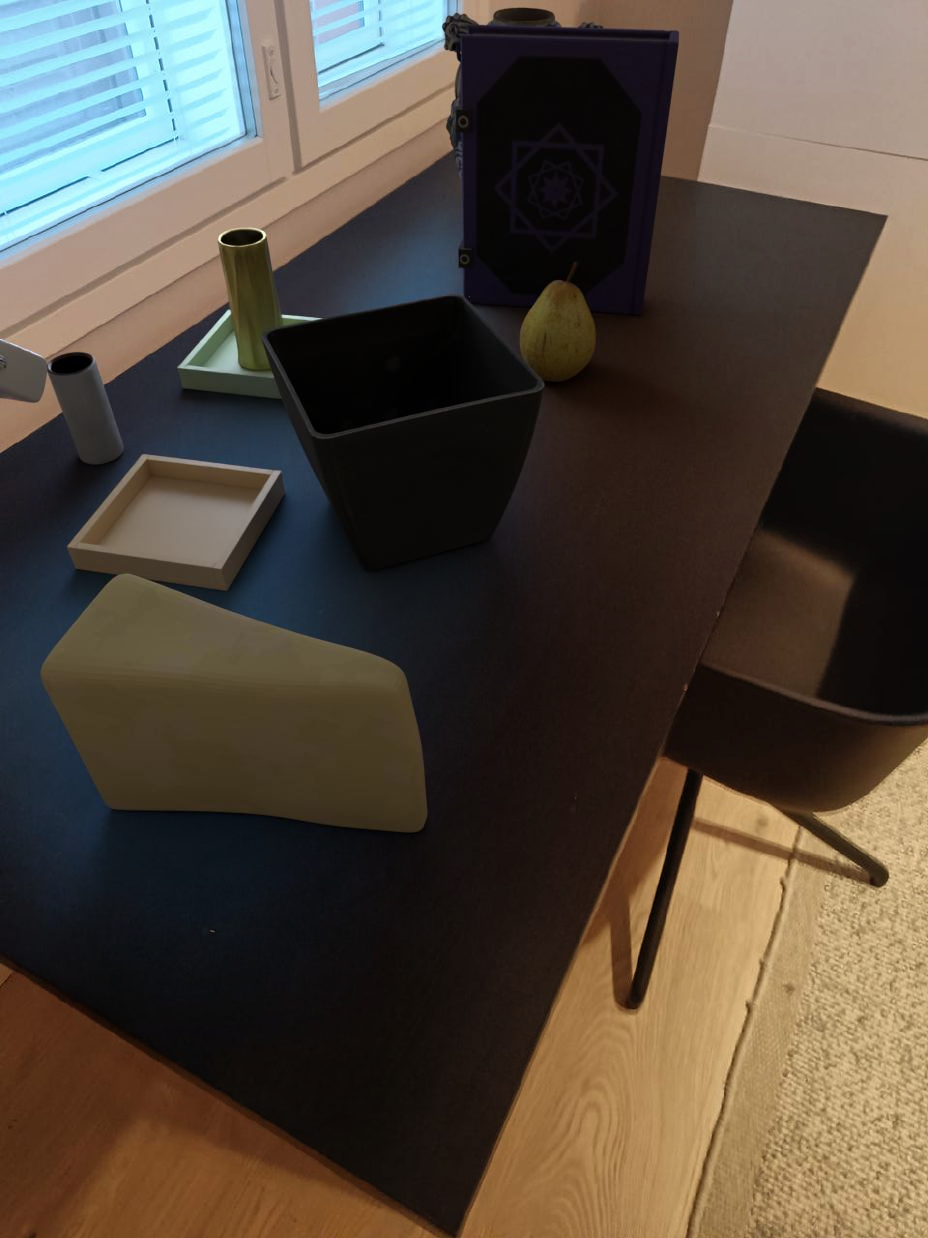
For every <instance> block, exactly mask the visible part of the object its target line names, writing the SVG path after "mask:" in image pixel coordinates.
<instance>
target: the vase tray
mask: <svg viewBox="0 0 928 1238" xmlns="http://www.w3.org/2000/svg"><path fill="white" fill-rule="evenodd" d="M281 315H282V319H283V324H284V326H287V325H292V324H297V323H302V322H307V321H313V320H318V319H323V318H320V317H311V316H299V315H290V314H289V315H288V314H281ZM176 368H177V373H178V377H179V380H180V383H181V387H182V389H186V390H187V389H188V390H195V391H207V392H215V393H223V394H231V395H241V396H251V397H259V398H268V399H277V400H282V398H281V395H280V392H279V390H278V387H277V384H276V381H275V379H274V376H273V373H272V370H271V369H270V370H251V369H247V368H245V367H243V366H241V365H240V364H239V362H238V350H237V343H236V337H235V331H234V327H233V322H232V317H231V311H230V309H227V310H226V311H225V313H223V315H222V316H221V317H220V318H219V320H217V322H216V323H215V324H214V325H213V326H212V328H211V329H210V330H209V331H208V332H207V333H206V334H205V336H204V337H203V338H202V339H201V340H200V341H199V343H197V344H196V346H195V347H194V348H193V349H192V350H191V352H190V353H189V354H188V355H187V356H186V357H185V358H184V360H182V362H181V363H180V364H179V365H178V366H177V367H176Z"/></svg>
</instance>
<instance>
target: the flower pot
mask: <svg viewBox="0 0 928 1238" xmlns="http://www.w3.org/2000/svg"><path fill="white" fill-rule="evenodd" d="M261 339H262V342H263V346H264V349H265V352H266V355H267V358H268V361H269V364H270V367H271V370H272V373H273V376H274V379H275V381H276V384H277V387H278V390H279V392H280V395H281V398H282V399H281V400H282V403H283V405H284V408H285V411H286V413H287V415H288V418H289V420H290V423H291V425H292V427H293V430H294V432H295V435H296V436H297V440H298V441H299V443H300V446H301V448H302V450H303V452H304V455H305V456H306V459H307V461H308V463H309V465H310V468H311V470H312V471H313V473H314V475H315V477H316V479H317V482H318V483H319V485H320V486H321V489H322V491H323V492H324V494H325V497H326V499H327V501H328V503H329V505H330V507H331V509H332V510H333V513H334V515H335V517H336V520H337V522H338V524H339V526H340V528H341V531H342V533H343V535H344V537H345V539H346V542H347V543H348V546H349V548H350V550H351V551H352V554H353V555H354V557H355V559H356V561H357V563H358V564H359V566H360V567H361V568H363V569H364V570H368V571H372V570H373V571H375V570H378V569H381V568H385V567H386V568H387V567H390V566H393V565H398V564H402V563H404V562H405V563H406V562H409V561H412V560H417V559H420V558H424V557H428V556H432V555H435V554H439V553H444V552H447V551H450V550H454V549H458V548H461V547H465V546H469V545H473V544H477V543H480V542H485V541H487V540H489V539H491V538H492V536H493V535H494V533H495V531H496V529H497V528H498V526H499V525H500V522H501V520H502V519H503V516H504V514H505V512H506V509H507V507H508V505H509V503H510V501H511V499H512V496H513V494H514V492H515V489H516V487H517V484H518V482H519V479H520V476H521V475H522V471H523V468H524V466H525V462H526V459H527V456H528V454H529V449H530V446H531V443H532V440H533V436H534V432H535V430H536V425H537V421H538V417H539V412H540V409H541V404H542V400H543V394H544V389H545V382H544V380H542V379H541V378H540V377H539V376H538V375H537V374H536V373H535V372H534V371H533V370H532V369H531V367H530V366H529V365H528V364H527V363H526V362H525V361H524V360H523V358H522V356H521V355H519V354H518V353H517V351H516V350H515V349H514V348H513V347H512V346H511V345H510V344H509V343H508V342H507V341H506V340H505V338H503V337H502V336H501V334H500V333H498V331H497V330H496V329H494V327H493V326H492V325H491V324H490V323H489V322H488V321H487V320H486V319H485V318H484V317H483V315H482V314H481V313H480V312H479V311H478V310H477V308H475V307H474V306H473V304H472V303H470V302H469V301H468V300H467V299H466V298H465V297H464V296H463V294H459V293H448V294H443V295H437V296H432V297H427V298H426V297H425V298H421V299H416V300H411V301H406V302H401V303H395V304H391V305H386V306H385V305H384V306H381V307H376V308H371V309H365V310H360V311H354V312H349V313H344V314H339V315H334V316H328V317H323V318H322V319H318V320H313V321H307V322H302V323H297V324H292V325H287V326H282V327H277V328H273V329H269V330H266V331H264V332H263V333H262V334H261Z"/></svg>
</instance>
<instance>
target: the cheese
mask: <svg viewBox="0 0 928 1238" xmlns="http://www.w3.org/2000/svg"><path fill="white" fill-rule="evenodd" d="M39 674H40V679H41V683H42V684H43V687H44V689H45V691H46V693H47V694H48V696H49V698H50V700H51V703H52V705H53V706H54V708H55V710H56V712H57V714H58V717H60V719H61V721H62V723H63V725H64V727H65V729H66V731H67V733H68V734H69V736H70V738H71V740H72V742H73V744H74V746H75V748H76V750H77V752H78V753H79V755H80V758H81V759H82V761H83V764H84V766H85V767H86V770H87V772H88V773H89V776H90V778H91V779H92V782H93V783H94V786H95V787H96V789H97V791H98V793H99V795H100V796H101V798H102V800H103V802H104V804H105V805H106V806H107V807H108V808H110V809H111V810H117V811H118V810H119V811H121V810H122V811H171V812H172V811H175V812H176V811H178V812H211V813H212V812H213V813H215V812H216V813H237V814H248V815H249V814H250V815H262V816H263V815H264V816H271V817H279V818H285V819H289V820H296V821H302V822H308V823H313V824H319V825H320V824H321V825H326V826H334V827H341V828H353V829H354V828H355V829H362V830H363V829H364V830H372V831H373V830H374V831H384V832H385V831H386V832H395V833H397V832H398V833H417V832H420V831H421V830H422V829H424V827H425V824H426V822H427V818H428V803H427V802H428V801H427V789H426V775H425V764H424V755H423V754H424V753H423V746H422V740H421V735H420V730H419V727H418V722H417V718H416V713H415V709H414V706H413V700H412V698H411V692H410V689H409V684H408V683H409V682H408V680H407V676H406V674H405V673H404V671H403V670H402V669H401V668H400V667H399V666H398V665H396V664H395V663H393V662H391V661H390V660H387V659H386V658H383V657H381V656H379V655H376V654H374V653H370V652H368V651H364V650H362V649H357V648H354V647H350V646H346V645H342V644H338V643H334V642H331V641H328V640H327V641H326V640H323V639H319V638H316V637H312V636H309V635H305V634H302V633H298V632H295V631H292V630H289V629H287V628H282V627H280V626H276V625H273V624H270V623H267V622H264V621H260V620H258V619H254V618H252V617H248V616H246V615H243V614H239V613H238V612H234V611H231V610H228V609H226V608H223V607H220V606H218V605H215V604H212V603H210V602H207V601H204V600H201V599H199V598H196V597H194V596H192V595H189V594H186V593H183V592H182V591H179V590H176V589H173V588H171V587H168V586H166V585H163V584H161V583H157V582H155V581H153V580H149V579H144V578H141V577H138V576H135V575H132V574H120V575H116V576H114V577H113V578H112V579H111V580H110V581H108V582H107V584H105V586H104V587H103V588H102V589H101V590H100V591H99V592H98V594H96V596H95V598H93V600H92V601H91V602H90V603H89V604H88V606H87V607H86V608H85V609H84V611H83V612H82V613H81V614H80V615H79V616H78V618H77V619H76V620H75V622H73V624H72V625H71V626H70V627H69V629H68V630H67V631H66V632H65V634H64V635H63V636H62V637H61V638H60V640H59V641H58V642H57V643H56V644H55V646H54V647H53V648H52V650H51V651H50V652H49V654H48V655H47V657H46V659H45V660H44V661H43V663H42V666H41V668H40V673H39Z"/></svg>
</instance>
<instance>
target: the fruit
mask: <svg viewBox="0 0 928 1238" xmlns="http://www.w3.org/2000/svg"><path fill="white" fill-rule="evenodd" d="M578 264H579V263H578V262H574V263H573V266H572V269H571V272H570V274H569V276H568V278H567V280H566V282H565V281H561V280H556V281H553V282H552V283H550V284H549V285H548V286H547V287H546V288H545V289H544V291H543V292H542V294H541V295H540V297H539V298H538V300H537V301H536V302H535V304H534V305H533V306H532V308H530V309H529V311H528V312H527V313H526V315H525V317H524V319H523V321H522V324H521V327H520V332H519V348H520V354H521V355H520V356H521V358H522V359H523V360H524V361H525V362H526V363H527V364H528V365H529V366H530V367H531V369H532V370H533V371H534V372H535V373H536V374H537V375H538V376H539V377H540V378H541V379H542V380H543V381H545V382H551V383H552V382H554V383H555V382H556V383H557V382H558V383H559V382H564V381H567V380H569V379H571V378H573V377H575V376H577V375H578V374H579V373H580V372H581V371H582V370H583V369H584V368H585V367H586V366H588V364H589V363H590V361H591V359H592V357H593V356H594V353H595V350H596V344H597V334H596V333H597V332H596V324H595V321H594V318H593V315H592V312H590V310H589V308H588V306H587V304H586V301H585V299H584V297H583V294H582V292H581V291H580V289H579V288H578V287H577V286H575V285H574V284H572V283H570V280H571V278H572V276H573V275H574V272H575V270H576V267H577V266H578Z"/></svg>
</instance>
